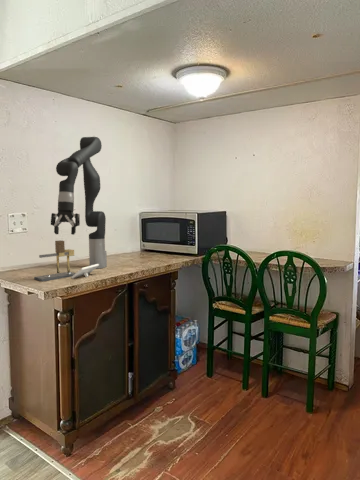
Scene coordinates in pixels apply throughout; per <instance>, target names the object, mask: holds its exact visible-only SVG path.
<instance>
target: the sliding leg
mask: <svg viewBox="0 0 360 480" xmlns="http://www.w3.org/2000/svg"><path fill="white" fill-rule="evenodd" d="M54 246H55V253H58V255H59V256H55V257H56V274H57V273H60V258H61V257H62V258H63V257H65V256H64V252H65V250H66V249H65V248H66V247H65V240H55V242H54Z"/></svg>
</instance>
